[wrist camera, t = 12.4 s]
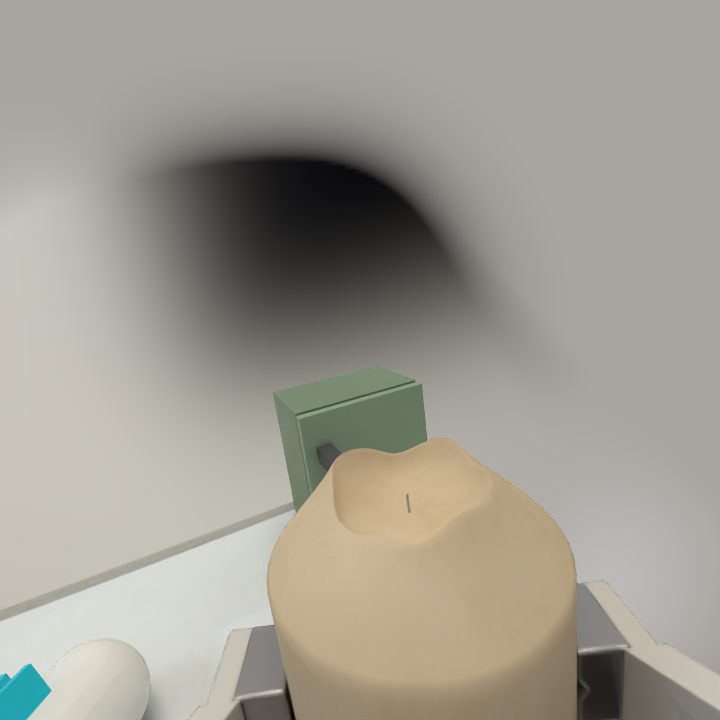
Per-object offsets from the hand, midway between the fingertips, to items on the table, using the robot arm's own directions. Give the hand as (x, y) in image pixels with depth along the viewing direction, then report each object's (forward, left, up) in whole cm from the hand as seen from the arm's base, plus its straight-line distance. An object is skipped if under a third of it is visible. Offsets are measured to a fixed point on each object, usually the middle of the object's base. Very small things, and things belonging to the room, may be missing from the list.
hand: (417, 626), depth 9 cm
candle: (0, +1, -6) cm, 6 cm away
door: (-5, -29, -22) cm, 37 cm away
